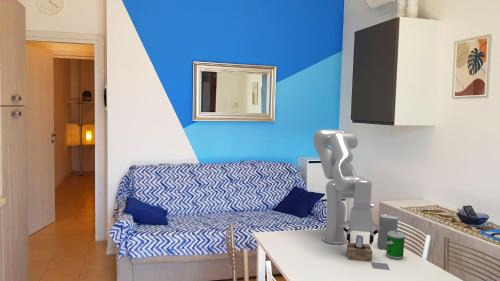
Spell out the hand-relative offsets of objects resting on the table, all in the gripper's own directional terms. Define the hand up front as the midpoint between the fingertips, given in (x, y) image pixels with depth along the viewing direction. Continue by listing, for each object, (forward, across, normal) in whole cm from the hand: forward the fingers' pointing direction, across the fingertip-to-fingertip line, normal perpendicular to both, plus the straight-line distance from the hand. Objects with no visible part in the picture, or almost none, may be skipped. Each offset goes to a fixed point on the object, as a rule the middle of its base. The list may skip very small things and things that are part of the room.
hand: (359, 242), depth 180 cm
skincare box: (+7, -15, -18) cm, 24 cm away
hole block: (+7, 0, 0) cm, 7 cm away
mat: (+7, -8, +9) cm, 14 cm away
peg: (+7, 0, 0) cm, 7 cm away
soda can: (+7, -16, -4) cm, 18 cm away
